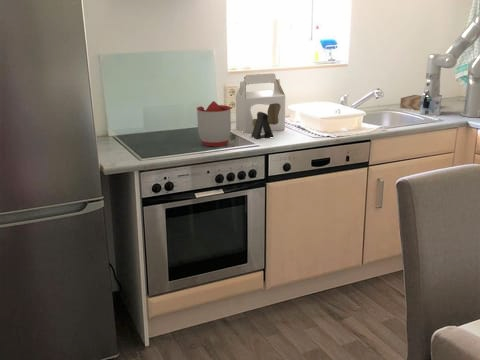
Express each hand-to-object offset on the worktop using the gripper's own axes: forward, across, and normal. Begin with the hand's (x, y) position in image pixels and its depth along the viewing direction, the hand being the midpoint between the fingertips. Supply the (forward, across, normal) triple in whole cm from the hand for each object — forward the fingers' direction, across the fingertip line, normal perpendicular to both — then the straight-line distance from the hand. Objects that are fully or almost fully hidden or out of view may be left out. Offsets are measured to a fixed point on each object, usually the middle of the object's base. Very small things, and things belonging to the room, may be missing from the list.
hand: (429, 106), depth 317 cm
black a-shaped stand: (+5, -107, +30) cm, 111 cm away
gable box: (+5, -95, +43) cm, 104 cm away
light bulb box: (+4, 0, 0) cm, 4 cm away
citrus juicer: (+5, -132, +37) cm, 137 cm away
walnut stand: (+4, +13, +14) cm, 19 cm away
